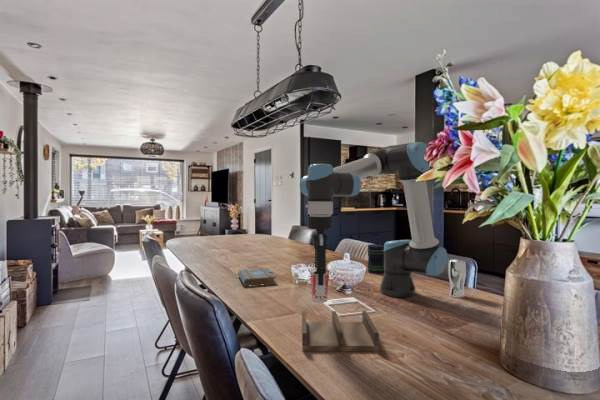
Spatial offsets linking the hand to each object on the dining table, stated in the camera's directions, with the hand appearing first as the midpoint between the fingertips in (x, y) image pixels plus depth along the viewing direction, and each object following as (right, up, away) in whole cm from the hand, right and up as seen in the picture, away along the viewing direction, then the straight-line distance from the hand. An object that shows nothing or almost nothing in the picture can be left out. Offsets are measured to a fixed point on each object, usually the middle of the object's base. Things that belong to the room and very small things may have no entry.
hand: (319, 292), depth 103 cm
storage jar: (+37, -13, +89) cm, 98 cm away
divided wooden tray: (+5, -14, 0) cm, 15 cm away
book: (-28, -14, +71) cm, 77 cm away
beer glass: (+61, -13, +43) cm, 76 cm away
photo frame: (+12, -14, +29) cm, 35 cm away
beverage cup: (0, -3, 0) cm, 3 cm away
